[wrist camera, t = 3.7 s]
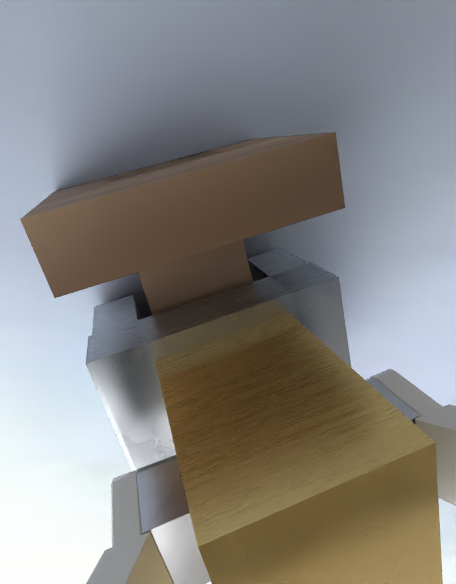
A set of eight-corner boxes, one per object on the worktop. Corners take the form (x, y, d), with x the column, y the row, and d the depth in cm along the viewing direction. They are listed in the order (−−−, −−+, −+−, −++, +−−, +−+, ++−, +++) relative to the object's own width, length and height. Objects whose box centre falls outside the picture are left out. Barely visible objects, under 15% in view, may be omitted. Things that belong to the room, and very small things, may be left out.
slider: (91, 308, 13) (67, 571, 5) (282, 246, 14) (520, 377, 6) (141, 433, 14) (184, 770, 7) (306, 370, 16) (510, 596, 8)
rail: (54, 191, 12) (20, 219, 7) (251, 138, 13) (335, 132, 8) (240, 665, 21) (278, 812, 16) (346, 612, 22) (411, 735, 17)
